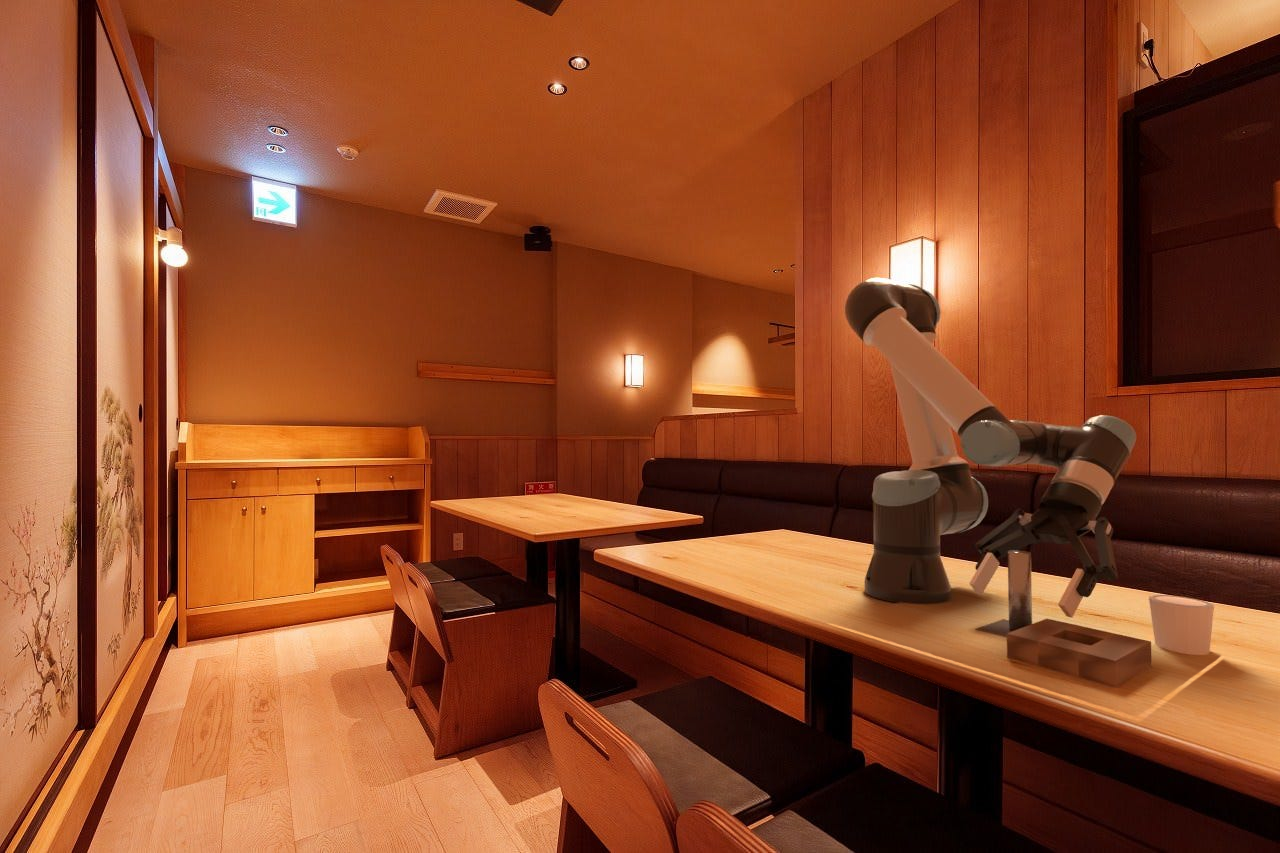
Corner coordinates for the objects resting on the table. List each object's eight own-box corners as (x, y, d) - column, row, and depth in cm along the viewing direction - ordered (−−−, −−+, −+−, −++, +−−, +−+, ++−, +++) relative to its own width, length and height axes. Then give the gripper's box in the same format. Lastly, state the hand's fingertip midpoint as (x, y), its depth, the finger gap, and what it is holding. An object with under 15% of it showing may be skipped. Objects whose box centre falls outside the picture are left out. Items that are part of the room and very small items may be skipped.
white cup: (1193, 661, 80) (1191, 608, 80) (1137, 644, 86) (1136, 596, 86) (1228, 656, 81) (1227, 604, 82) (1171, 640, 88) (1170, 592, 88)
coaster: (975, 631, 92) (975, 628, 92) (1003, 621, 97) (1003, 619, 97) (1040, 648, 85) (1040, 645, 85) (1067, 636, 90) (1067, 633, 90)
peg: (1005, 630, 91) (1004, 551, 92) (1014, 627, 93) (1013, 549, 93) (1026, 635, 89) (1025, 554, 89) (1035, 632, 90) (1034, 552, 91)
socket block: (1007, 659, 80) (1006, 633, 80) (1047, 642, 87) (1046, 618, 87) (1116, 690, 70) (1115, 660, 70) (1151, 668, 77) (1151, 641, 77)
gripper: (1180, 519, 86) (1122, 639, 80) (1010, 503, 109) (955, 595, 102) (1158, 484, 84) (1098, 604, 78) (990, 475, 107) (933, 567, 100)
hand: (1017, 599), depth 90 cm, fingers open, 13 cm apart
